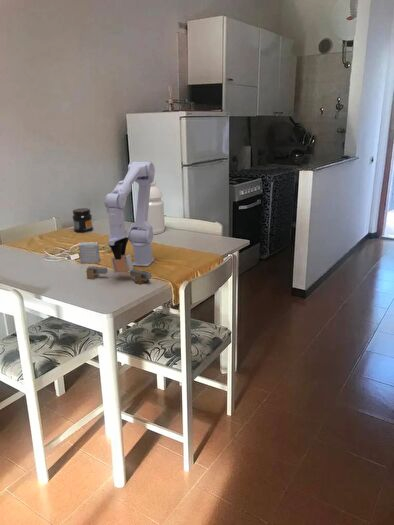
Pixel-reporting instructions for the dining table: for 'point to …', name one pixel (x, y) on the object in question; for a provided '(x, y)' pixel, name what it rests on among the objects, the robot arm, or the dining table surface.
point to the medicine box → (89, 252)
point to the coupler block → (122, 263)
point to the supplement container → (82, 220)
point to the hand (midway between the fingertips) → (120, 257)
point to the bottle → (156, 210)
